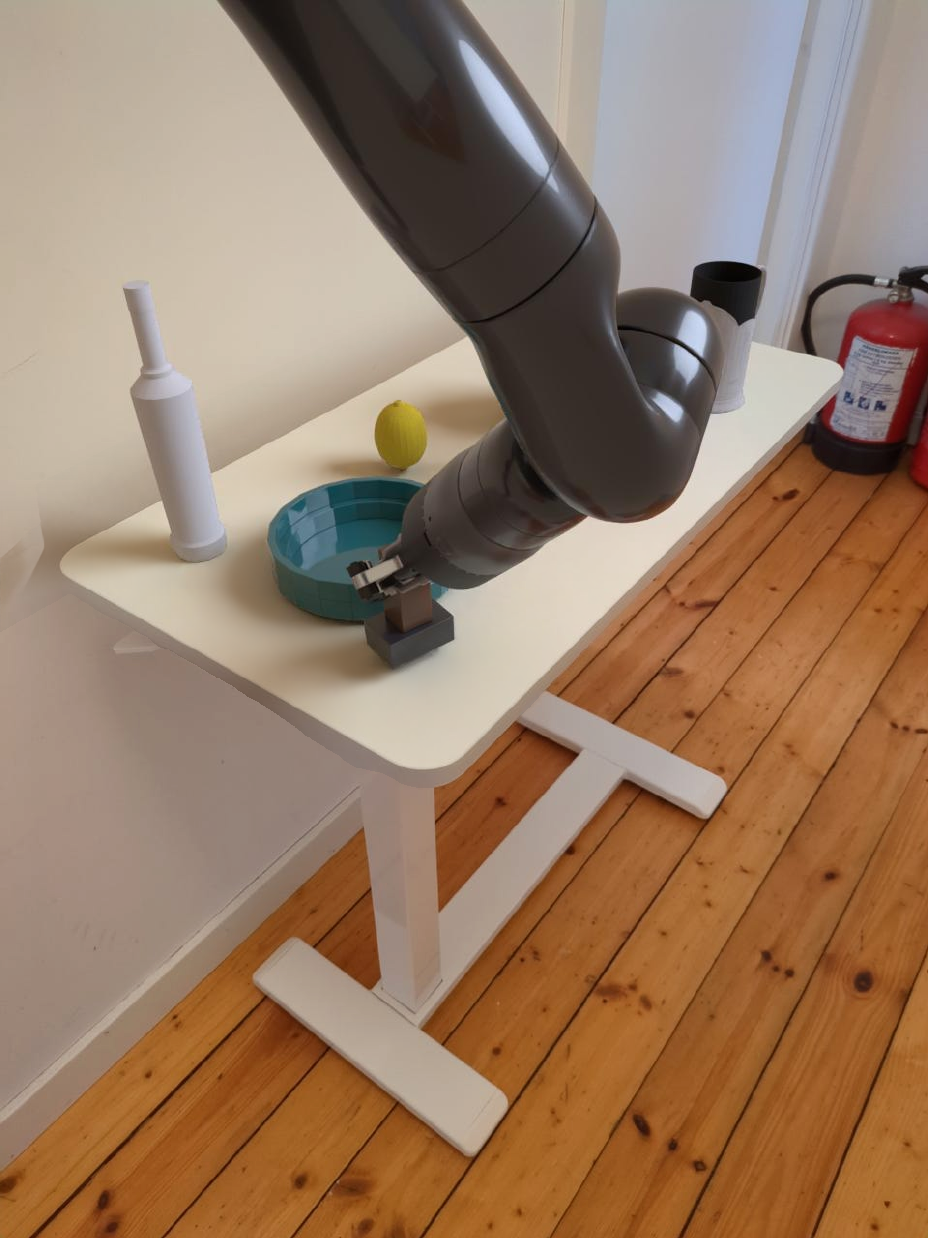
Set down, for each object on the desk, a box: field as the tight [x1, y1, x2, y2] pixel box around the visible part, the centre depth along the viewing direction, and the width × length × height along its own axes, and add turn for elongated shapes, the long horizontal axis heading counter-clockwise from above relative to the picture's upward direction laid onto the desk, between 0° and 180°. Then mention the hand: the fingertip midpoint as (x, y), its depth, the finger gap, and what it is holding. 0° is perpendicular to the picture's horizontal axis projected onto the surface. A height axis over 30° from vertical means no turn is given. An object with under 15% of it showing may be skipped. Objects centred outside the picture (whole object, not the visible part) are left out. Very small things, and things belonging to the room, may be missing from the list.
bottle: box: [122, 280, 228, 563], centre depth 78 cm, size 5×5×25 cm
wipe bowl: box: [266, 476, 450, 622], centre depth 82 cm, size 17×17×4 cm
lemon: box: [374, 399, 428, 471], centre depth 94 cm, size 6×6×8 cm
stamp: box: [363, 542, 456, 670], centre depth 70 cm, size 6×4×9 cm, turn 126°
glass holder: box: [689, 260, 768, 414], centre depth 106 cm, size 9×14×15 cm, turn 138°
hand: (392, 581), depth 71 cm, fingers closed on stamp, 3 cm apart
